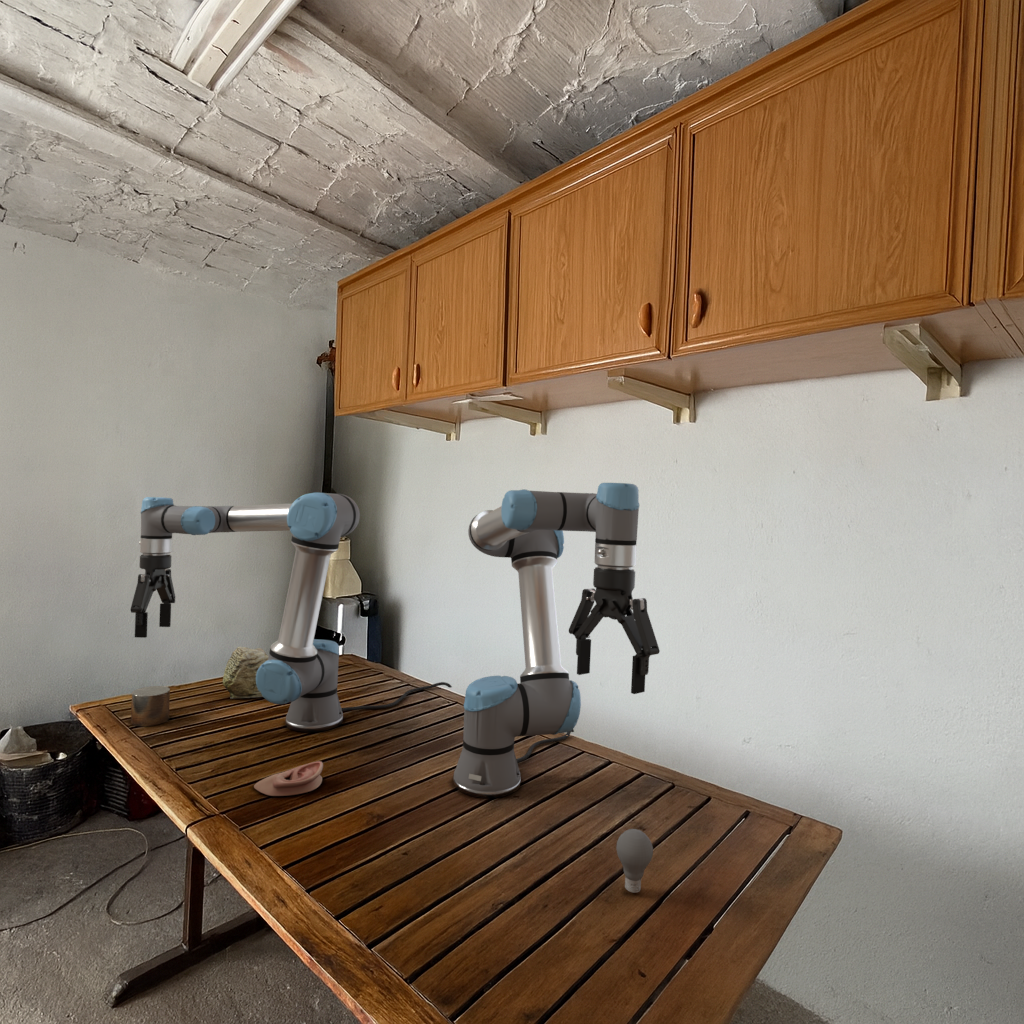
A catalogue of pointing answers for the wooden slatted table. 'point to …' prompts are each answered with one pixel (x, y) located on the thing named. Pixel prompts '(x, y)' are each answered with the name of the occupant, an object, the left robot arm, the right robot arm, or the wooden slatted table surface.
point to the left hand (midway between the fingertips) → (153, 631)
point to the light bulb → (634, 857)
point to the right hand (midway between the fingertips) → (609, 682)
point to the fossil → (243, 672)
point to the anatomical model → (292, 781)
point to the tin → (150, 706)
